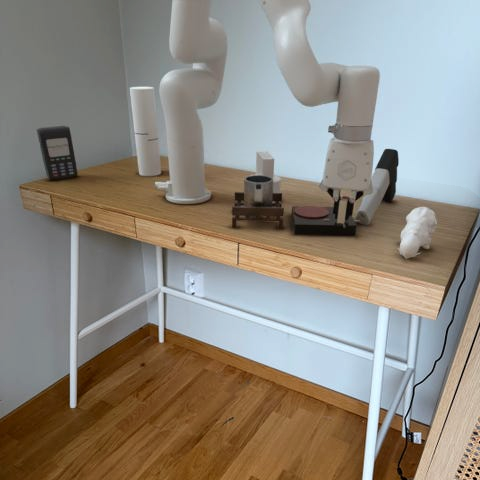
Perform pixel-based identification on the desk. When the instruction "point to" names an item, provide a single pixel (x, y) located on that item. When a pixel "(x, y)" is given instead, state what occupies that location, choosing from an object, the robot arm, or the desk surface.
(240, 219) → the drying rack
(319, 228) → the hob
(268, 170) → the base with upright slab
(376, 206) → the handheld device
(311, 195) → the desk surface
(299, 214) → the hot plate
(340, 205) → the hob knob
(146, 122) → the cylindrical container
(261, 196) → the steel pot
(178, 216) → the desk surface
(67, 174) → the card reader
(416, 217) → the white animal figurine
